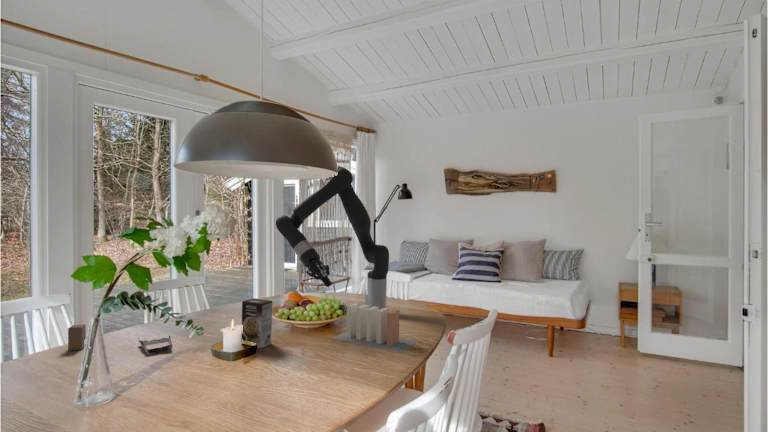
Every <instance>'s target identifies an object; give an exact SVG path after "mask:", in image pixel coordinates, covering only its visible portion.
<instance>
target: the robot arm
mask: <svg viewBox="0 0 768 432" xmlns="http://www.w3.org/2000/svg"><path fill="white" fill-rule="evenodd" d="M337 166H338V165H337ZM353 178H354V177H353V174H352V172H351V171H350V170H349V169H347V168H345V167H343V166H340V165H339V166H338V175H337V176H335V175H334V177H329V176H328V179H329V181H328V182H327V183H325V185H323V186H322V187H321V188H319V189H318V190H316V191H314V192H313V193H311V194H309V195H308V196H307V197H304V198H303V199H302V200H301V201H299V202H298V203H297V205H295V206H294V208H293V210H292V211H293V213H292V214H291V215H290V216H288V215H285V214H284V215H283V214H282V215H280V216H278V217H277V218H276V220H275V226H276V229H277V230H278V232H279V233H280V234H281V235H282V236H283V237H284V239H286V241H287V242H288V244H289V246H290V247H291V248H292V250H293V251H294V253H295V255H296V256H297V258H298V259H299V261H300V262H301V264H302V265H303V266H304V267H305V268H307V270H306V271H305V273H306V274H307V275H309V276H310V277H312V278H313V279H315V280H317V281H318V280H320V281H322V283H323V284H324V286H325V287H326V288H330V287H331V286H332V285H333V283H332V281H331V279H330V278H329V276H330V265H329V264H326V265H325V264H324V263H323V262H322V261H321V259H320V258H321V256H320V254H319V253H318V251H317V250H316V249H315V248H314V246H313V245H312V243H311V242H310V241H308V239H307V237H306V236H305V235H304V234H303V233H302V231H300V230H299V228H300V227H301V226H302V224H303V223H304V222H305V220H306V219H308V218H309V217H310V216H311V215H312V214H314V212H315V211H317V210H318V209H319V208H320V207H321V206H322V205H324V204H326V203H327V202H329V200H330V199H332V198H334V197H335V196H337V195H338V197H339V200H340V201H341V204H342V206H343V208H344V211H345V214H346V216H347V218H348V221H349V223H350V224H351V225H350V226H351V227H352V229H353V231H354V234H355V236H356V238H357V240H358V242H359V245H360V248H361V250H362V253H363V256H364V259H365V260H366V261H367V262H368V263H370V264H373V269H372V270H369V271H368V272H367V282H366V283H367V288H366V290H367V292H366V293H365V302H364V303H365V304H364V305H369V308H372V307H374V306H376V307H379V310H381V309H383V308H387V277H388V276H387V275H388V273H389V266H390V265H389V264H390V263H389V262H390V251H389V248H388V247H387V246H386V245H383V244H376V243H375V242H374V240H373V238H372V236H371V235H372V234H371V225H372V224H371V223H372V222H371V218H370V215H369V213H368V210H367V208H366V207H365V205H364V203H363V202H362V200H361V199H360V198H359V196H358V194H357V193H356V192H355V188H354V187H353V184H352V183H353V180H354V179H353Z"/></svg>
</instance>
